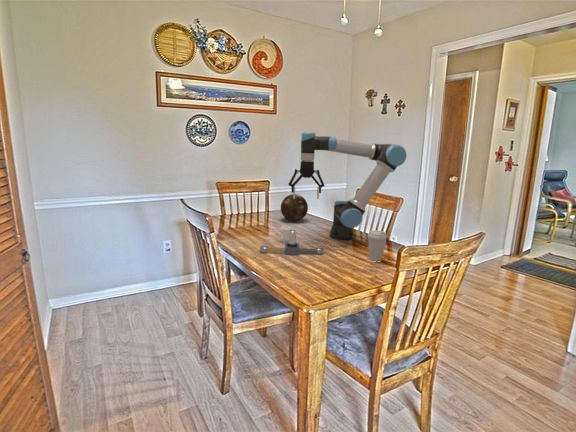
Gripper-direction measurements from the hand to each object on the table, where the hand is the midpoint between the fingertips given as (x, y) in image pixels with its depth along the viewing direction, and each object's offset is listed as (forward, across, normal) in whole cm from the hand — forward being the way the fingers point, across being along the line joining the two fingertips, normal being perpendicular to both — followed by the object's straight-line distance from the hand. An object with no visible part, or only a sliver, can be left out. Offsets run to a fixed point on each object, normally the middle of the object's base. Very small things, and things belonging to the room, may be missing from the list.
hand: (305, 198), depth 191 cm
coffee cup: (+27, -34, +27) cm, 51 cm away
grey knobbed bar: (+26, +8, +17) cm, 33 cm away
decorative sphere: (+27, +4, -54) cm, 60 cm away
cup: (+26, +12, -3) cm, 29 cm away
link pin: (+26, +8, +18) cm, 33 cm away
